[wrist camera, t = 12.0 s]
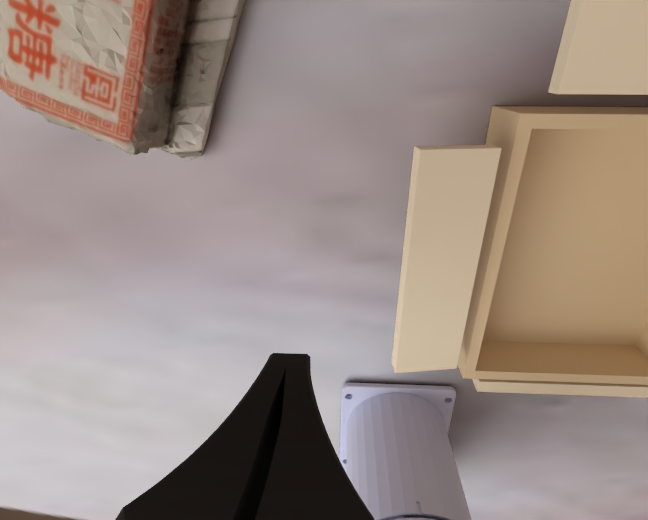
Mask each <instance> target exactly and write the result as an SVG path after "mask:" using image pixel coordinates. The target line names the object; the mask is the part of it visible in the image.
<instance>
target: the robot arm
mask: <svg viewBox="0 0 648 520" xmlns="http://www.w3.org/2000/svg"><path fill="white" fill-rule="evenodd" d="M347 394H351V395H347ZM446 398H448V399H446ZM455 399H456V391H455V389H454V388H453V387H451V386H430V385H401V384H373V383H345V384H344V385H343V386H342V403H341V434H340V460H339V459H338V457H337V454H336V452H335V450H334V448H333V446H332V444H331V441H330V439H329V436H328V434H327V432H326V429H325V426H324V424H323V421H322V418H321V415H320V412H319V409H318V406H317V402H316V398H315V395H314V391H313V386H312V381H311V375H310V356H309V355H307V354H284V353H273V354H272V355H270V357H269V359H268V361H267V362H266V364H265V366H264V368H263V369H262V371H261V372H260V374H259V375H258V377H257V379H256V380H255V382H254V383H253V384H252V386H251V387H250V389H249V390H248V392H247V393H246V394H245V396H244V397H243V398H242V400H241V401H240V402H239V404H238V405H237V406H236V407H235V409H234V410H233V411H232V412H231V414H230V415H229V416H228V417H227V418H226V420H225V421H224V422H223V423H222V424H221V425H220V426H219V428H218V429H217V430H216V431H215V432H214V433H213V434H212V435H211V436H210V437H209V438H208V439H207V440H206V441H205V442H204V443H203V444H202V445H201V446H200V447H199V448H198V449H197V450H196V451H195V452H194V453H193V454H192V455H190V456H189V457H188V458H187V459H186V460H185V461H184V462H183V463H181V464H180V465H179V466H178V467H177V468H175V469H174V470H173V471H172V472H171V473H169V474H168V475H167V476H166V477H165V478H163V479H162V480H161V481H160V482H158V483H157V484H156V485H154V486H153V487H152V488H150V489H149V490H147V491H146V492H145V493H143V494H142V495H140V496H139V497H138V498H136V499H135V500H134V501H132V502H131V503H129V504H128V505H126V506H125V507H123V509H122V510H121V512H120V513H119V515H118V517H117V518H116V520H471V516H470V513H469V509H468V505H467V502H466V498H465V495H464V491H463V488H462V484H461V481H460V477H459V474H458V470H457V466H456V463H455V459H454V456H453V452H452V449H451V445H450V442H449V438H448V432H449V427H450V422H451V418H452V413H453V408H454V404H455ZM346 473H347V474H346Z"/></svg>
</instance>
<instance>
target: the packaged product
mask: <svg viewBox="0 0 648 520" xmlns="http://www.w3.org/2000/svg"><path fill="white" fill-rule="evenodd" d="M244 3H245V0H0V89H1V90H3V91H4V92H5V93H6V94H7V95H9V96H10V97H12V98H14V99H15V100H16V101H17V102H18V103H19V104H20V105H21V106H22V107H23V108H25V109H28V110H31V111H34V112H37V113H39V114H41V115H42V116H43V117H44V118H45V119H46V120H47V122H50V123H53V124H57V125H60V126H64V127H67V128H70V129H74V130H77V131H80V132H83V133H85V134H87V135H89V136H91V137H93V138H94V139H96V140H98V141H106V142H108V143H110V144H113V145H114V146H116V147H118V148H120V149H122V150H123V151H125V152H127V153H129V154H139V153H141V152H143V153H147V152H148V150H149V148H159V149H161V150H164V151H166V152H169V153H171V154H174V155H177V156H179V157H181V158H185V159H191V160H192V159H194V158H197V157H199V156H202V154H203V151H204V147H205V144H206V141H207V137H208V133H209V128H210V124H211V119H212V115H213V110H214V105H215V101H216V98H217V95H218V92H219V89H220V85H221V82H222V79H223V76H224V73H225V69H226V66H227V63H228V60H229V57H230V53H231V50H232V47H233V44H234V40H235V37H236V32H237V28H238V24H239V21H240V17H241V14H242V10H243V6H244Z"/></svg>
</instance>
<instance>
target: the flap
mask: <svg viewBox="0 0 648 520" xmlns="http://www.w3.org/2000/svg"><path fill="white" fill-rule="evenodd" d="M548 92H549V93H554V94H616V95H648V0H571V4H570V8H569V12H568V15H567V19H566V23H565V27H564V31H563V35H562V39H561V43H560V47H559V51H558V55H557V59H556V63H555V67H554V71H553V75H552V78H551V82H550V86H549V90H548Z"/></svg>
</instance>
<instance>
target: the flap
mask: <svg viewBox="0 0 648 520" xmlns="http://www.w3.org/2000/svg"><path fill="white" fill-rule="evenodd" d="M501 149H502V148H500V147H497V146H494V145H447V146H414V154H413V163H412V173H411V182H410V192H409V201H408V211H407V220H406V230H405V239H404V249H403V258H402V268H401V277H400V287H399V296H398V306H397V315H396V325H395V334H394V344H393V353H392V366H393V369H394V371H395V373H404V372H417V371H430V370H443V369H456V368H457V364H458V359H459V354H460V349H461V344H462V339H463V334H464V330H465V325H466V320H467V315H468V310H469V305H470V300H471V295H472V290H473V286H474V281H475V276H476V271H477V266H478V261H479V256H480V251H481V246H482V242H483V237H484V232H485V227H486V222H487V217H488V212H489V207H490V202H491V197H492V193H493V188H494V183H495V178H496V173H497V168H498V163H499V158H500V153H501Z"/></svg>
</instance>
